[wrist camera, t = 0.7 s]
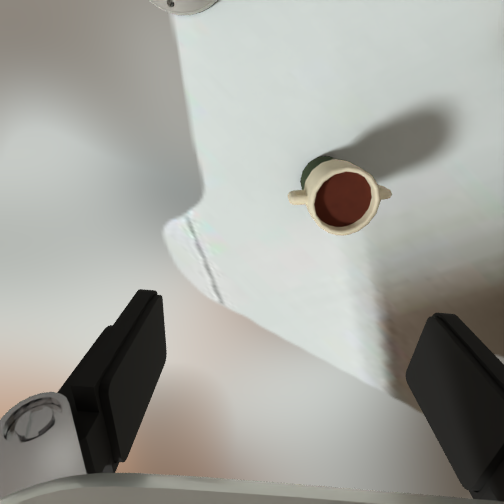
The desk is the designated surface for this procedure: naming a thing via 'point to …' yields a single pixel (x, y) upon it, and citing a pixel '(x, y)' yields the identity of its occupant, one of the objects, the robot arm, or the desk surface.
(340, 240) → the desk surface
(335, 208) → the character mug
